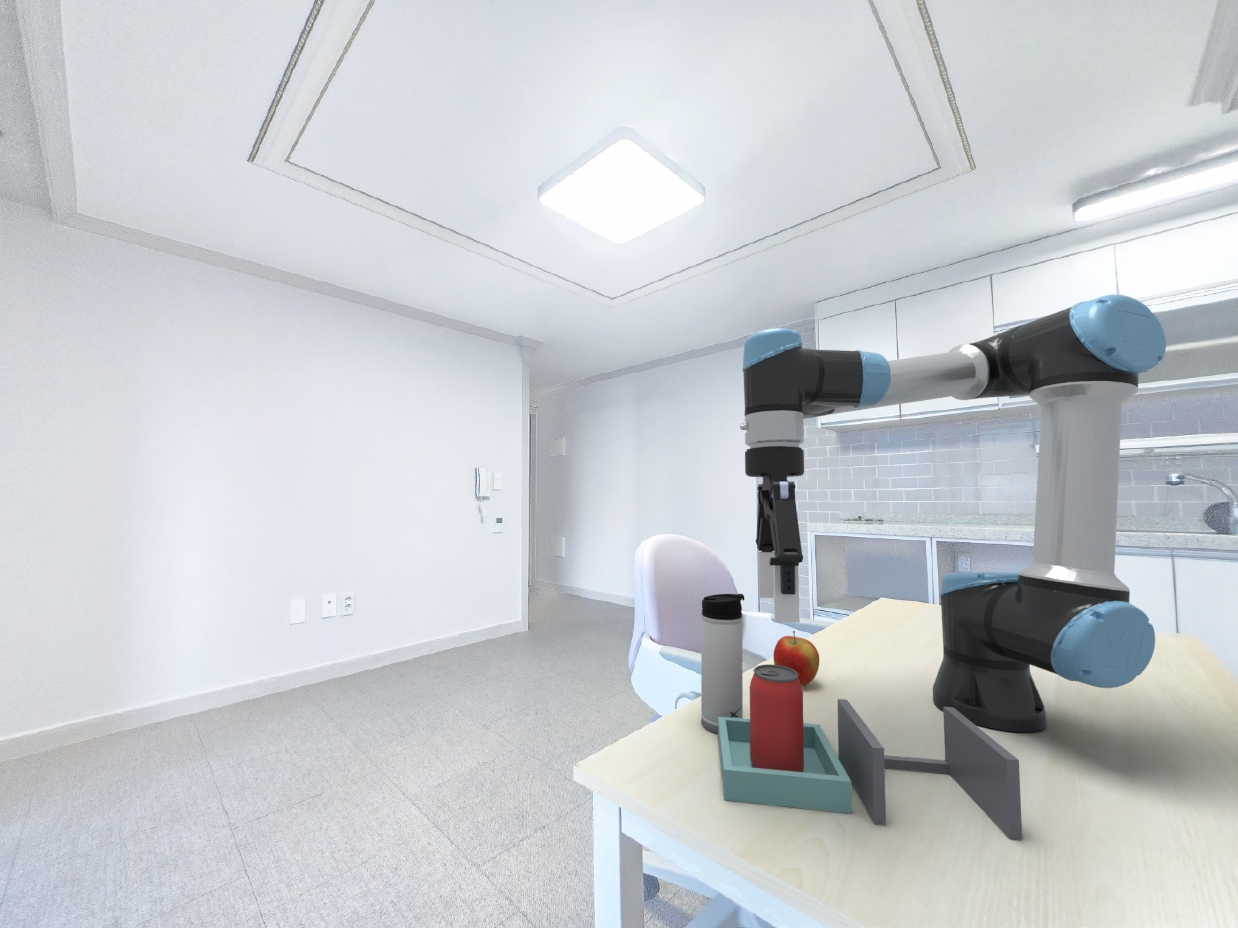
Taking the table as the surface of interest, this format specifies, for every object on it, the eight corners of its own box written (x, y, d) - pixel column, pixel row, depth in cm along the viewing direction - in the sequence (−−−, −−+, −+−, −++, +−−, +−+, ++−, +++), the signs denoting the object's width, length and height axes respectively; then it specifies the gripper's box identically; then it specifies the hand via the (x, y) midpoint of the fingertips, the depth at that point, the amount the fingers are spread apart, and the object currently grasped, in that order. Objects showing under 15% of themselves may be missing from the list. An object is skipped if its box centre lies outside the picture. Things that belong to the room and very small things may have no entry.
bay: (955, 770, 63) (953, 707, 64) (1022, 839, 50) (1018, 759, 51) (838, 760, 65) (837, 698, 66) (874, 824, 53) (872, 747, 53)
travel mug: (746, 737, 71) (745, 598, 73) (700, 732, 73) (700, 596, 74) (743, 718, 77) (743, 591, 79) (701, 714, 79) (702, 589, 80)
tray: (819, 749, 68) (819, 724, 68) (851, 813, 54) (851, 781, 55) (717, 740, 70) (718, 716, 70) (724, 799, 56) (724, 769, 57)
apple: (827, 684, 92) (826, 630, 93) (805, 695, 87) (805, 638, 87) (789, 672, 98) (788, 622, 99) (766, 682, 93) (765, 628, 94)
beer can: (743, 754, 65) (742, 663, 66) (790, 753, 66) (789, 662, 67) (761, 783, 59) (760, 681, 60) (813, 781, 59) (812, 680, 60)
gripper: (736, 455, 78) (738, 589, 77) (757, 436, 53) (760, 633, 52) (785, 454, 77) (788, 590, 75) (828, 435, 52) (834, 636, 51)
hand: (777, 608), depth 64 cm, fingers open, 13 cm apart
